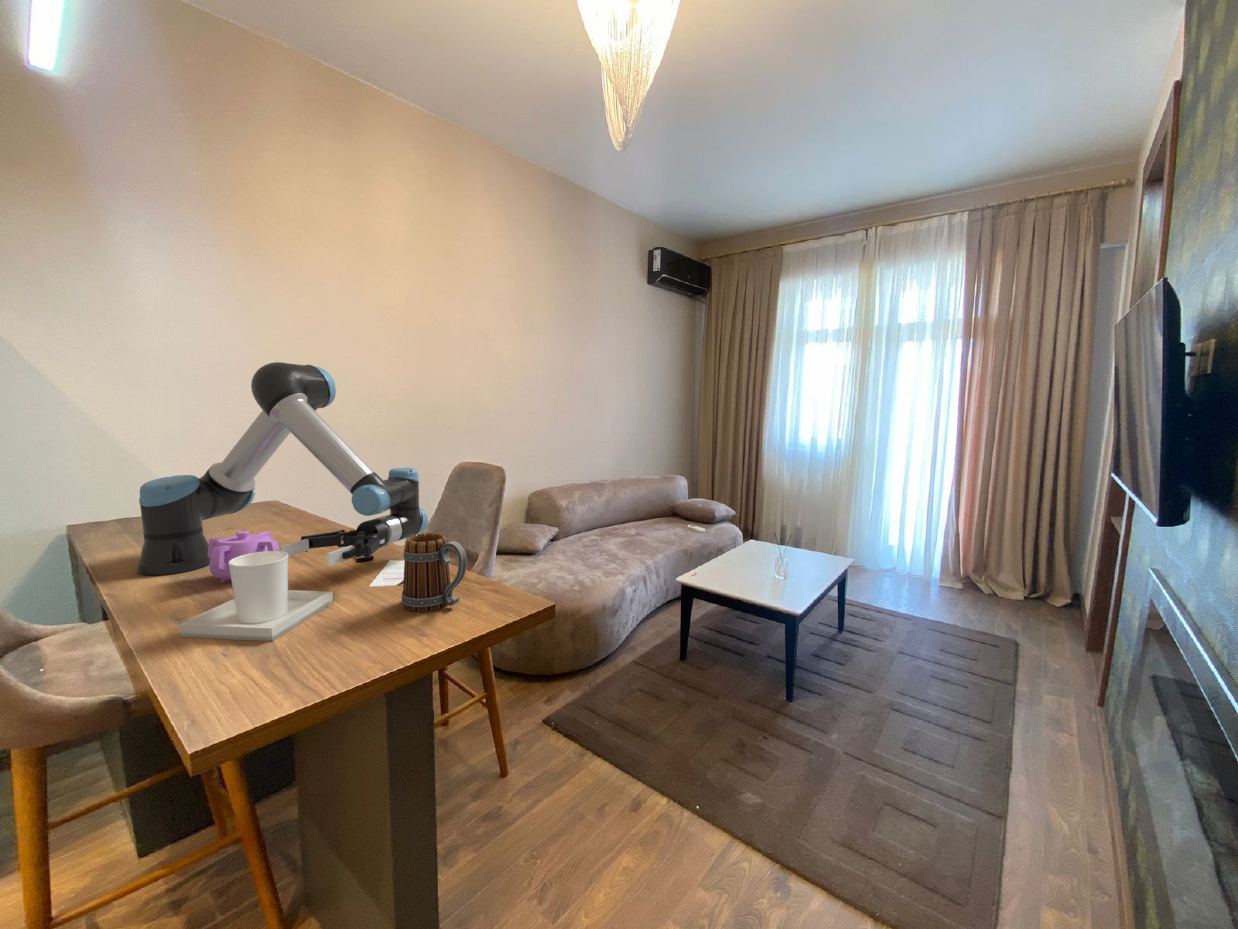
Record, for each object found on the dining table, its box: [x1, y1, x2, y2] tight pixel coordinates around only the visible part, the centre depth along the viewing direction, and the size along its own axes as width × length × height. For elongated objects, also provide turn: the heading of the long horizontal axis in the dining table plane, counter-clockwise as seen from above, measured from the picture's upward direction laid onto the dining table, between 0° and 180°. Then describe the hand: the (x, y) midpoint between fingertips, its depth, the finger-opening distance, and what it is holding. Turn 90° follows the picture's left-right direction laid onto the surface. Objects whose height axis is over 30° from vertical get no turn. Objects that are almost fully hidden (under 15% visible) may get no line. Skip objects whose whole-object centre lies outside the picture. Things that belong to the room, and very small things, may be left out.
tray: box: [178, 589, 334, 642], centre depth 102 cm, size 18×18×2 cm
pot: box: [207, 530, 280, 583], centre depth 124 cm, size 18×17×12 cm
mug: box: [401, 532, 468, 613], centre depth 109 cm, size 16×11×15 cm
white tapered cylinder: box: [228, 551, 289, 624], centre depth 101 cm, size 10×10×12 cm
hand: (304, 555), depth 110 cm, fingers open, 13 cm apart
